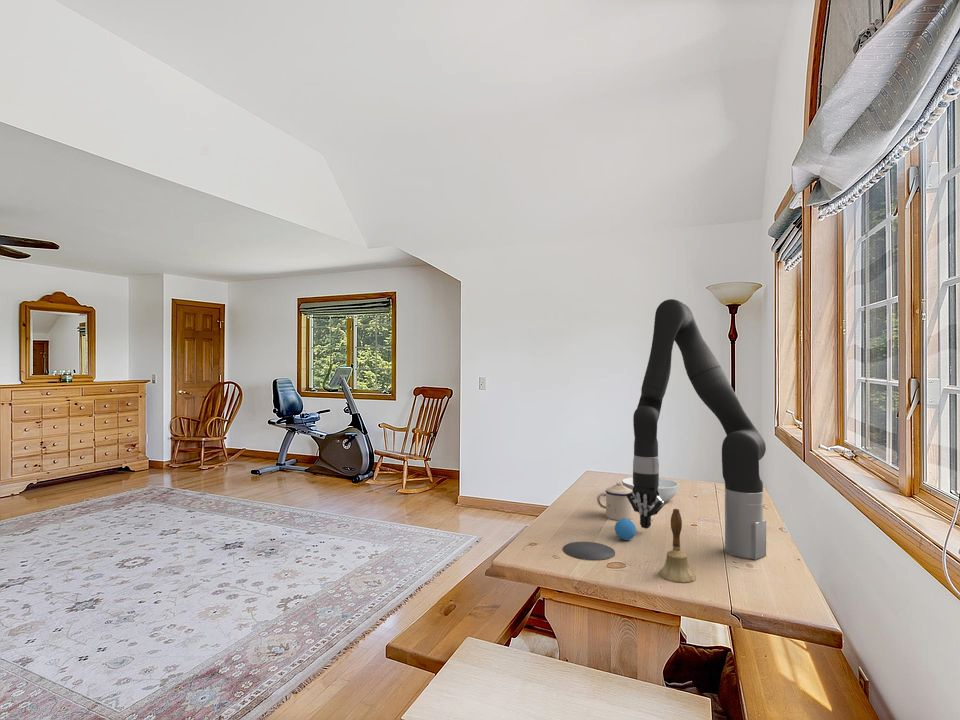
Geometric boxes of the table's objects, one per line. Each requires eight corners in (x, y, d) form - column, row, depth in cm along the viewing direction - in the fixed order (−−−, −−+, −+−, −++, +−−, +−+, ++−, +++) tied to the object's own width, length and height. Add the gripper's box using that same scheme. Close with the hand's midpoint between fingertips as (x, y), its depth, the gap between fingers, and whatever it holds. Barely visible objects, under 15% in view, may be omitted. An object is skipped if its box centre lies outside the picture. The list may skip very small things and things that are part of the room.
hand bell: (654, 577, 123) (654, 510, 123) (663, 566, 130) (663, 503, 130) (691, 586, 118) (691, 516, 119) (698, 574, 125) (698, 508, 126)
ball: (640, 540, 150) (640, 519, 150) (627, 544, 146) (627, 523, 146) (623, 535, 155) (623, 514, 155) (610, 538, 151) (610, 518, 151)
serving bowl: (675, 495, 205) (675, 478, 205) (681, 509, 185) (681, 489, 185) (621, 491, 211) (621, 474, 211) (621, 504, 191) (621, 485, 191)
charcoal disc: (626, 552, 139) (626, 552, 139) (591, 564, 131) (591, 563, 131) (586, 539, 151) (586, 538, 151) (552, 548, 142) (552, 548, 142)
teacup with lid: (635, 515, 176) (635, 481, 176) (630, 522, 168) (631, 486, 168) (600, 511, 181) (600, 477, 181) (594, 517, 173) (594, 482, 173)
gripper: (672, 472, 154) (671, 531, 154) (635, 465, 165) (634, 520, 164) (657, 475, 149) (657, 535, 149) (620, 468, 160) (619, 524, 160)
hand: (645, 527), depth 157 cm, fingers closed
